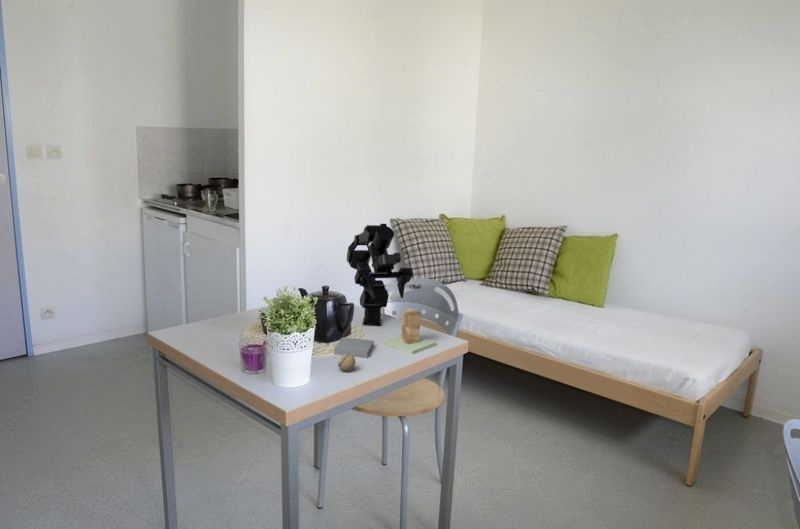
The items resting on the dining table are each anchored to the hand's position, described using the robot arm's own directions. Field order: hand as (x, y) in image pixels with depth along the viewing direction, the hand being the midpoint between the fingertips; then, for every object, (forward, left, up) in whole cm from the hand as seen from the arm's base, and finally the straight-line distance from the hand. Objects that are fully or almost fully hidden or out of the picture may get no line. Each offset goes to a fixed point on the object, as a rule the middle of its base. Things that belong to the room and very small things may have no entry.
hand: (388, 298), depth 195 cm
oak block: (+5, +8, -13) cm, 15 cm away
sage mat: (+5, +8, -14) cm, 16 cm away
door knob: (+29, -10, -14) cm, 33 cm away
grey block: (+13, -9, -14) cm, 21 cm away
